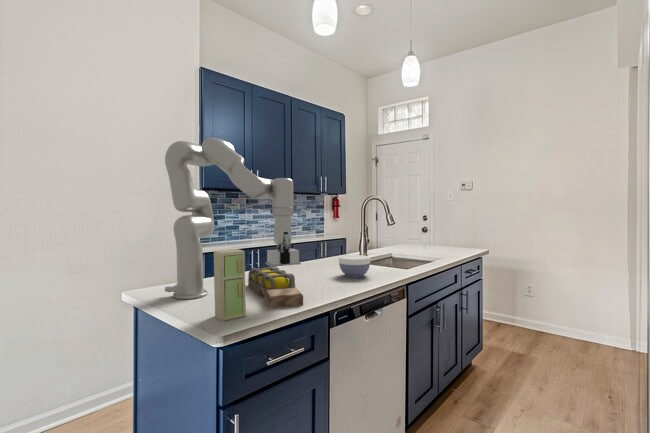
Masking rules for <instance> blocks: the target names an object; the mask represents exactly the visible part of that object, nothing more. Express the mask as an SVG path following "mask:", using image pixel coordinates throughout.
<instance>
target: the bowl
mask: <svg viewBox="0 0 650 433" xmlns="http://www.w3.org/2000/svg"><path fill="white" fill-rule="evenodd" d="M338 263H339V264H338V265H339V269H340V271H341V272H342V273H343V275H345V277H346V278H351V279H358V278H363V277H364V276H365V275H366V274H367V272H368V271H369V269H370V266H371V265H370V264H371V256H369V255H365V254H364V255H362V254H344V255H339V256H338Z"/></svg>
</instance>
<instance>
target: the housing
mask: <svg viewBox="0 0 650 433" xmlns="http://www.w3.org/2000/svg"><path fill="white" fill-rule="evenodd" d="M266 251H267V252H266V253H267V254H266V260H267V261H266V262H265V265H267V266H268V267H270V266H271V267H285V266H286V267H287V266H295V265H297V266H298V265H301V264H302V263H301V262H300V250H298V249H295V248H290V264H281V253H282V251H281V249H278V250H277V249H267V250H266Z"/></svg>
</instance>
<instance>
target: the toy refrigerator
mask: <svg viewBox="0 0 650 433" xmlns="http://www.w3.org/2000/svg"><path fill="white" fill-rule="evenodd" d="M245 253H246V251H245V250H243V249H238V248H232V249H221V250H213V277H214V281H213V282H214V283H213V284H214V286H213V287H214V315H215V317H216V318H217V319H218V320H220V321H221V322H224V321H225V322H226V321H229V320H234V319H239V318H244V317H246V316H247V315H246V314H247V313H246V312H247V310H246V309H247V308H246V262H245V261H246V256H245V255H246V254H245Z"/></svg>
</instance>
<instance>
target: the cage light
mask: <svg viewBox="0 0 650 433" xmlns="http://www.w3.org/2000/svg"><path fill="white" fill-rule="evenodd" d="M295 278H296V277H295V275H294V274H293V273H287V272H286V271H285V270H284V269H283V270H282V269H281V270H280V268H278V266H274V267H271V266H268V267H262V268H261V267H260V268H258V267H257V268H256V267H252V268H251V269H250V270H249V272H248V278H247V280H248V281H247V284H248V286H247V287H248V288H249V289H250V290H251V291H252V292H254V293H255V294H256V295H258V296H259V297H261V298H265V292H266V290H275V289H288V288H296V283H295V280H296V279H295Z"/></svg>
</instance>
